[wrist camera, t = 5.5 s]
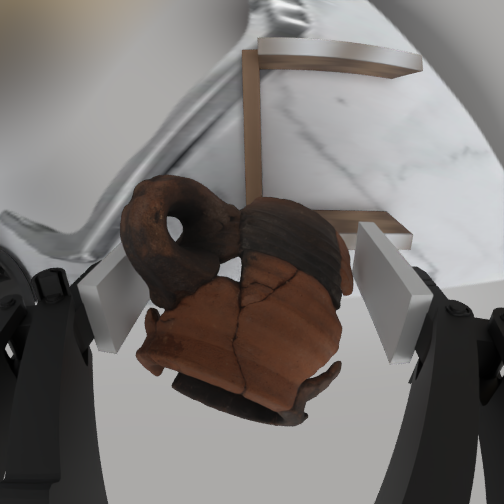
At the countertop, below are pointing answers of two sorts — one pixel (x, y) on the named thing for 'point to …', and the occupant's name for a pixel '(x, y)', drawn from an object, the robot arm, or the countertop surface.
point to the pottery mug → (238, 297)
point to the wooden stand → (320, 59)
